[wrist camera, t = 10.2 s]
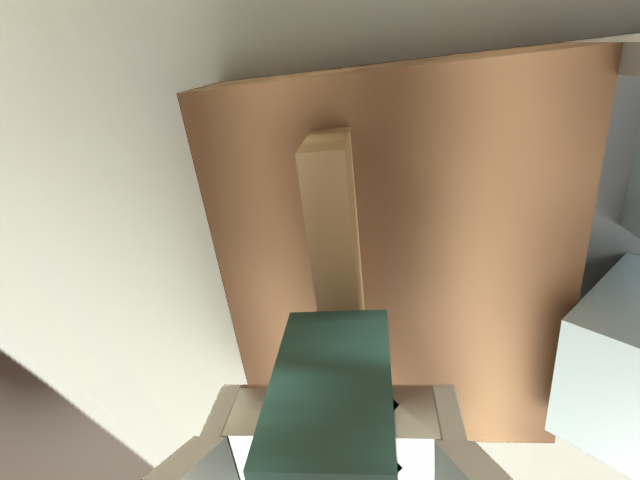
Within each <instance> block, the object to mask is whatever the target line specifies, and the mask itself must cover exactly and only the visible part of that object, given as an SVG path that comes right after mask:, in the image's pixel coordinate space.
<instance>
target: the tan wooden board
mask: <svg viewBox="0 0 640 480" xmlns="http://www.w3.org/2000/svg"><path fill="white" fill-rule="evenodd" d="M622 47H623V42H557V43H549V44H540V45H532V46H523V47H515V48H506V49H498V50H489V51H481V52H472V53H464V54H455V55H447V56H438V57H430V58H421V59H413V60H404V61H396V62H387V63H379V64H370V65H362V66H353V67H345V68H336V69H328V70H319V71H311V72H302V73H294V74H285V75H277V76H268V77H260V78H251V79H243V80H234V81H226V82H219V83H215V84H211V85H207V86H203V87H199V88H196V89H192V90H188V91H184V92H180V93H177V97H178V101H179V105H180V109H181V113H182V117H183V121H184V126H185V130H186V134H187V138H188V142H189V146H190V150H191V154H192V158H193V162H194V166H195V171H196V175H197V179H198V183H199V187H200V191H201V195H202V199H203V203H204V207H205V212H206V216H207V220H208V224H209V228H210V232H211V236H212V240H213V244H214V248H215V252H216V257H217V261H218V265H219V269H220V273H221V277H222V281H223V285H224V289H225V293H226V297H227V302H228V306H229V310H230V314H231V318H232V322H233V326H234V330H235V334H236V338H237V342H238V347H239V351H240V355H241V359H242V363H243V367H244V371H245V375H246V379H247V383H248V385H269V381H270V378H271V375H272V371H273V368H274V364H275V361H276V358H277V354H278V351H279V348H280V344H281V341H282V338H283V334H284V331H285V327H286V324H287V321H288V317H289V314H290V312H317V308H316V301H315V293H314V286H313V279H312V272H311V265H310V258H309V250H308V243H307V236H306V229H305V222H304V215H303V207H302V200H301V193H300V186H299V179H298V172H297V164H296V157H295V153H296V152H297V150H298V149H299V147H300V146H301V144H302V143H303V141H304V140H305V138H306V137H307V135H308V134H309V132H310V131H311V130H320V129H331V128H341V127H350V134H351V147H352V159H353V171H354V183H355V195H356V208H357V220H358V232H359V244H360V257H361V269H362V281H363V293H364V305H365V310H384V309H387V314H388V330H389V346H390V361H391V377H392V385H422V384H431V385H432V384H453V385H454V387H455V390H456V394H457V398H458V402H459V407H460V411H461V415H462V419H463V423H464V427H465V432H466V436H467V440H468V441H475V442H513V443H555V437H556V436H555V435H553V434H551V433H549V432H548V431H546V430H545V424H546V418H547V411H548V405H549V398H550V392H551V386H552V379H553V373H554V366H555V360H556V353H557V347H558V341H559V334H560V328H561V321H562V319H563V318H564V317H565V316H566V315H567V314H568V313H569V312H570V311H571V310H572V309H573V308H574V307H575V306H576V305H577V304H578V303H579V297H580V292H581V286H582V280H583V274H584V268H585V263H586V257H587V251H588V245H589V239H590V233H591V228H592V222H593V216H594V210H595V204H596V199H597V193H598V187H599V181H600V175H601V169H602V164H603V158H604V152H605V146H606V140H607V135H608V129H609V123H610V117H611V111H612V105H613V100H614V94H615V88H616V82H617V76H618V71H619V65H620V59H621V53H622Z"/></svg>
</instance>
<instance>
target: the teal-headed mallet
mask: <svg viewBox="0 0 640 480" xmlns="http://www.w3.org/2000/svg"><path fill="white" fill-rule="evenodd" d="M295 157H296V164H297V172H298V179H299V186H300V193H301V200H302V207H303V215H304V222H305V229H306V236H307V243H308V250H309V258H310V265H311V272H312V279H313V286H314V293H315V301H316V308H317V312H290V314H289V317H288V321H287V324H286V327H285V331H284V334H283V338H282V341H281V344H280V348H279V351H278V354H277V358H276V361H275V364H274V368H273V371H272V375H271V378H270V381H269V385H268V388H267V391H266V395H265V398H264V401H263V405H262V408H261V412H260V415H259V418H258V422H257V425H256V428H255V432H254V435H253V439H252V442H251V445H250V449H249V452H248V455H247V459H246V462H245V465H244V469H243V474H244V478H245V480H398V471H397V456H396V440H395V424H394V408H393V393H392V377H391V361H390V346H389V330H388V314H387V309H384V310H365V305H364V293H363V281H362V269H361V257H360V244H359V232H358V220H357V208H356V195H355V183H354V171H353V159H352V147H351V134H350V127H341V128H331V129H320V130H311V131H310V132H309V134H308V135H307V137H306V138H305V140H304V141H303V143H302V144H301V146H300V147H299V149H298V150H297V152H296V153H295Z"/></svg>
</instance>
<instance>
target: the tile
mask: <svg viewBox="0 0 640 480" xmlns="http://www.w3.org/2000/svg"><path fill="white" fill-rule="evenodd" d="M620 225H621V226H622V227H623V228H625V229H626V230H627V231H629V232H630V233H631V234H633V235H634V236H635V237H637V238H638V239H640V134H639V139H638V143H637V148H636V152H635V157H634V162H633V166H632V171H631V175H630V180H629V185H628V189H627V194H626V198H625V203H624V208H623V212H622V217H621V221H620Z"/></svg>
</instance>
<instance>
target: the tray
mask: <svg viewBox="0 0 640 480" xmlns="http://www.w3.org/2000/svg"><path fill="white" fill-rule="evenodd" d="M566 42H623V47H622V53H621V59H620V65H619V71H618V76H617V82H616V88H615V94H614V100H613V105H612V111H611V117H610V123H609V129H608V135H607V140H606V146H605V152H604V158H603V164H602V169H601V175H600V181H599V187H598V193H597V199H596V204H595V210H594V216H593V222H592V228H591V233H590V239H589V245H588V251H587V257H586V263H585V268H584V274H583V280H582V286H581V292H580V297H579V302H580V300H581V299H582V298H583V297H584V296H585V295H586V294H587V293H588V292H589V291H590V290H591V289H592V288H593V287H594V286H595V285H596V284H597V283H598V282H599V281H600V280H601V279H602V278H603V277H604V276H605V275H606V274H607V273H608V271H609V270H610V269H611V268H612V267H613V266H614V265H615V264H616V263H617V262H618V261H619V260H620V259H621V258H622V257H623V256H624V255H625V254H626V253H630V254H635V255H639V256H640V239H638V238H637V237H635V236H634V235H633V234H631V233H630V232H629V231H627V230H626V229H625V228H623V227H622V226H621V225H620V221H621V217H622V212H623V208H624V203H625V198H626V194H627V189H628V185H629V180H630V175H631V171H632V166H633V162H634V157H635V152H636V148H637V143H638V139H639V134H640V33H634V34H625V35H617V36H608V37H600V38H591V39H583V40H574V41H566Z"/></svg>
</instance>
